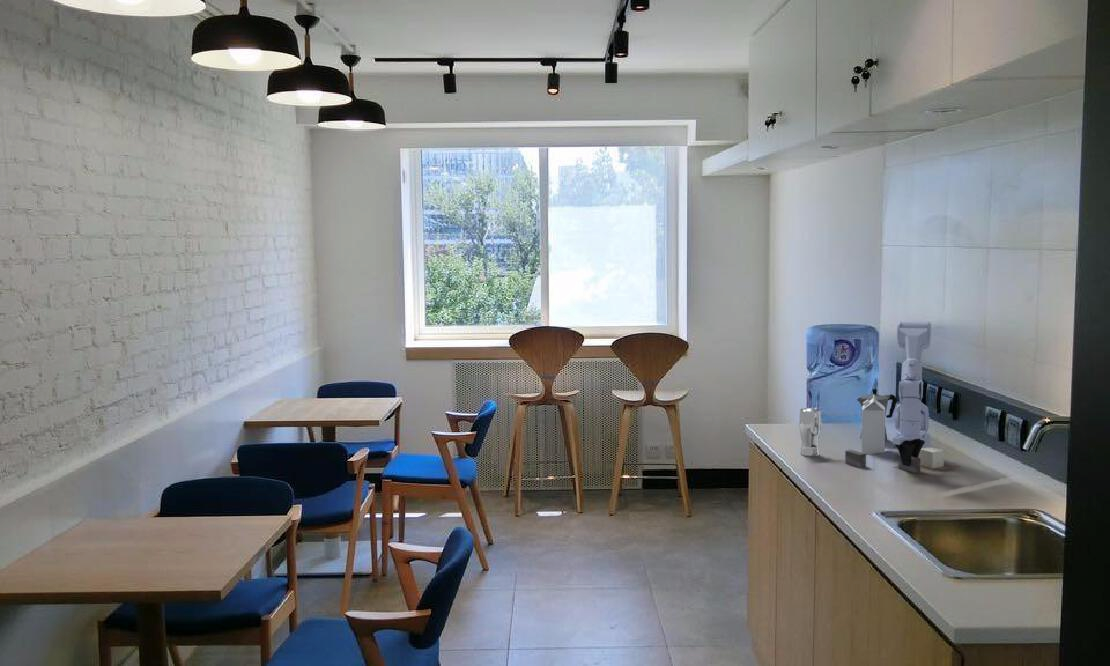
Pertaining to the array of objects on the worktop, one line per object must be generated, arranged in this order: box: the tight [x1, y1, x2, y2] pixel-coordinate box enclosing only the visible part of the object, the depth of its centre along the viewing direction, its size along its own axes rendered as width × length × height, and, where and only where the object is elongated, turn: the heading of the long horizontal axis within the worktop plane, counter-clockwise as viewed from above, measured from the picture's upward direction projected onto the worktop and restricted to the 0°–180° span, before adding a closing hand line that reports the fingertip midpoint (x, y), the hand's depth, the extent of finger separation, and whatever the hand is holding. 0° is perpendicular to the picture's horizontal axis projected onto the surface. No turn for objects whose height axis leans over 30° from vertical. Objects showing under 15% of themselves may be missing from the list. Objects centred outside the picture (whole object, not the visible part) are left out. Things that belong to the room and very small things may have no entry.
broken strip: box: [844, 449, 867, 468], centre depth 279 cm, size 18×9×5 cm, turn 118°
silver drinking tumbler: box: [798, 407, 822, 458], centre depth 295 cm, size 7×7×15 cm
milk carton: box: [860, 395, 886, 456], centre depth 294 cm, size 7×7×19 cm
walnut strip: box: [892, 454, 960, 476], centre depth 272 cm, size 18×10×5 cm, turn 118°
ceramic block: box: [919, 446, 945, 469], centre depth 273 cm, size 5×5×5 cm
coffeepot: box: [856, 388, 898, 442], centre depth 314 cm, size 15×9×18 cm, turn 103°
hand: (909, 464), depth 268 cm, fingers closed on walnut strip, 3 cm apart
